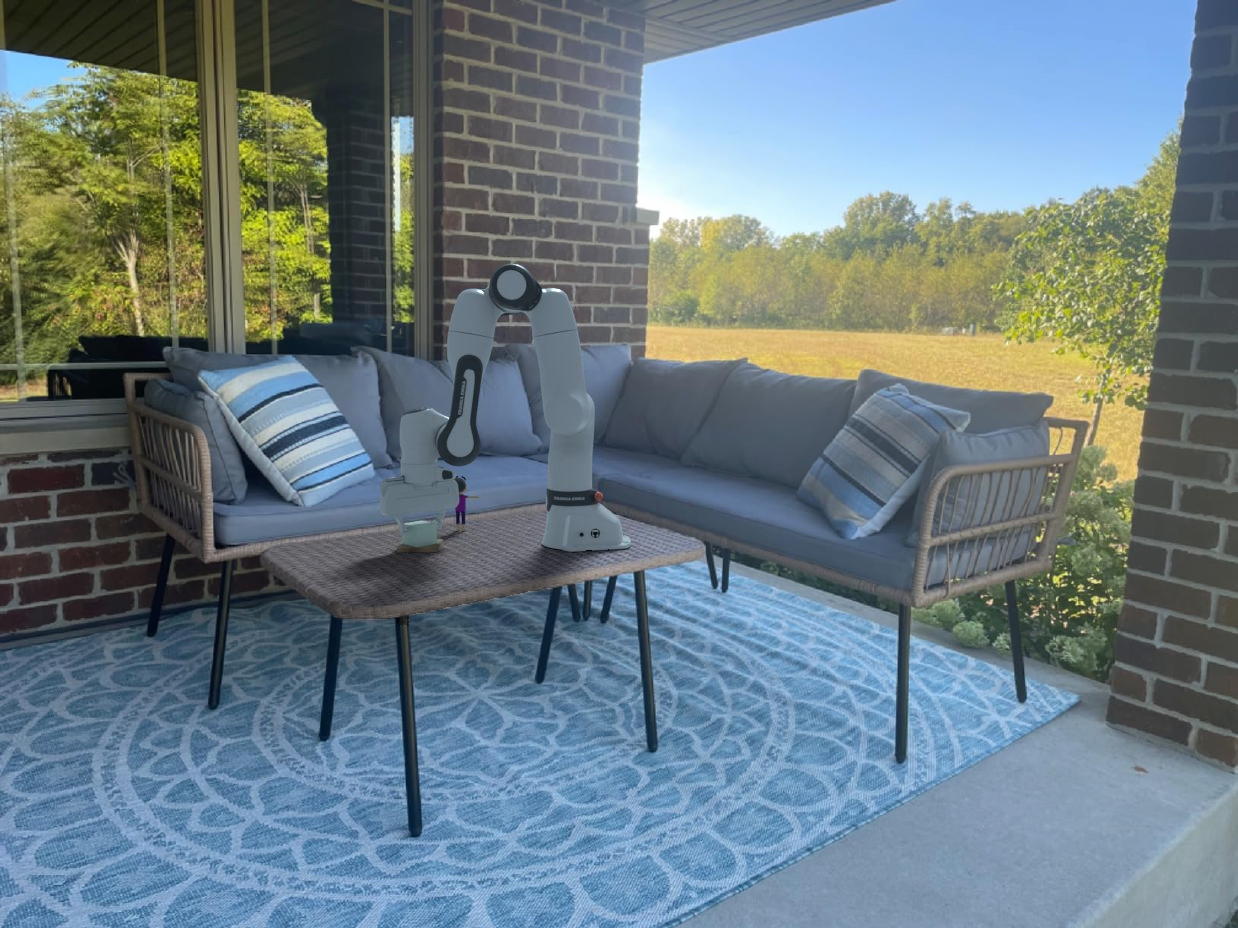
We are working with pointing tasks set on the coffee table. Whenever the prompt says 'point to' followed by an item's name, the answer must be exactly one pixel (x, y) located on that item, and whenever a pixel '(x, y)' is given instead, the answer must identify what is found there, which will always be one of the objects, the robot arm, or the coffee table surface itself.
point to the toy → (461, 502)
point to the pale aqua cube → (420, 534)
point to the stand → (420, 549)
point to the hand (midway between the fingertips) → (421, 529)
